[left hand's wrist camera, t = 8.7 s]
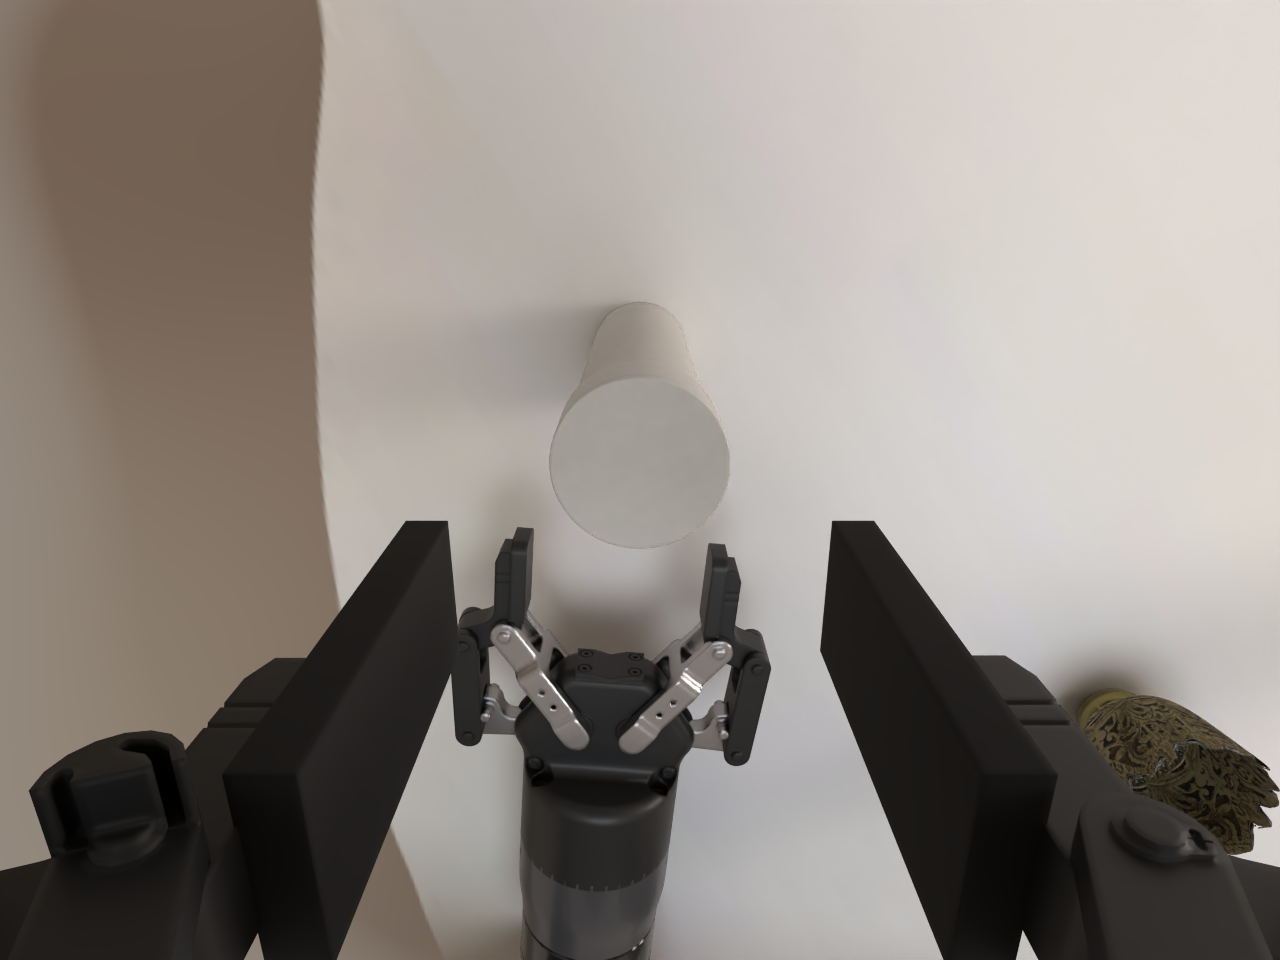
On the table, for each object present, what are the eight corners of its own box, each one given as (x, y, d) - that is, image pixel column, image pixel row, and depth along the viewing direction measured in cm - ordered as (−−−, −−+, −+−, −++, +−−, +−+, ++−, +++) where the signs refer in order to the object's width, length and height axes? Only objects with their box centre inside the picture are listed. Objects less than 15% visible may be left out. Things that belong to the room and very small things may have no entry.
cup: (1173, 643, 42) (1288, 739, 35) (1170, 750, 45) (1277, 862, 37) (1035, 667, 43) (1119, 766, 35) (1040, 772, 45) (1119, 886, 38)
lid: (523, 444, 23) (511, 470, 21) (636, 324, 22) (636, 338, 20) (642, 546, 24) (643, 581, 22) (755, 438, 23) (768, 463, 21)
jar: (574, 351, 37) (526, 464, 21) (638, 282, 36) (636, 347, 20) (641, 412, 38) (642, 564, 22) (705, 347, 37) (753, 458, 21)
